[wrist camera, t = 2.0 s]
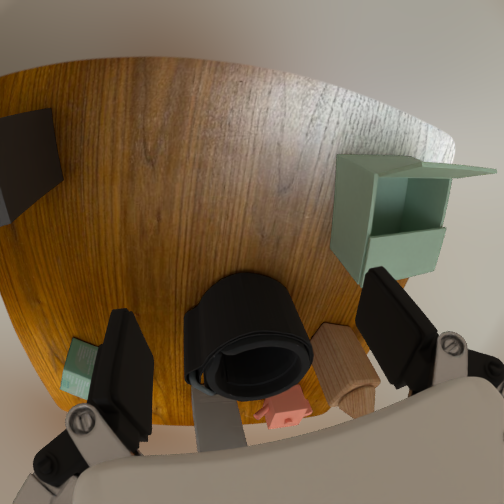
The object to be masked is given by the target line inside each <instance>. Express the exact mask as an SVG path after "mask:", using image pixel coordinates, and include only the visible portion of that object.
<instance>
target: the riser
mask: <svg viewBox="0 0 504 504" xmlns="http://www.w3.org/2000/svg"><path fill="white" fill-rule="evenodd" d="M62 181H63V175H62V171H61V166H60V161H59V156H58V151H57V145H56V139H55V133H54V126H53V119H52V111H51V108H47V109H41V110H35V111H30V112H25V113H20V114H15V115H11V116H7V117H2V118H0V226H3V225H7V224H10V223H12V222H13V221H14V220H15V219H16V218H17V217H19V216H20V215H21V214H22V213H23V212H24V211H25V210H27V209H28V208H29V207H30V206H31V205H32V204H34V203H35V202H36V201H37V200H39V199H40V198H41V197H42V196H44V195H45V194H46V193H47V192H49V191H50V190H51V189H52V188H54V187H55V186H56V185H58V184H59V183H60V182H62Z"/></svg>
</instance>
